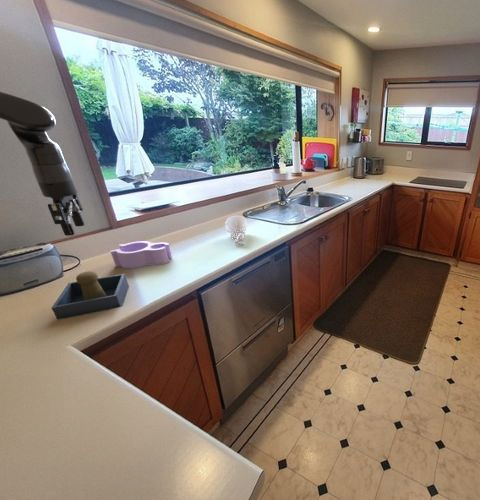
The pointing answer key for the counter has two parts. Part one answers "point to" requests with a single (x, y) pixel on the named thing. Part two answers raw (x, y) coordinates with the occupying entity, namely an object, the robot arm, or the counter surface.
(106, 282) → the tub
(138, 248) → the purple compartment tray
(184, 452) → the counter surface
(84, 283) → the cork
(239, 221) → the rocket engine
